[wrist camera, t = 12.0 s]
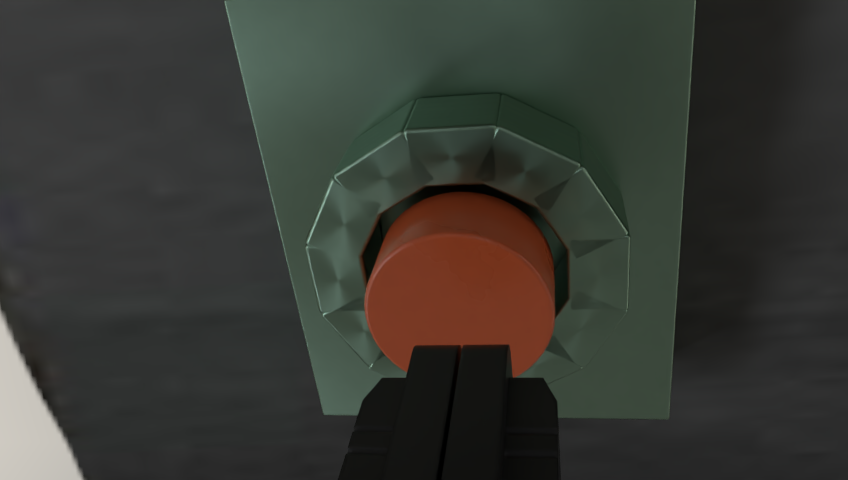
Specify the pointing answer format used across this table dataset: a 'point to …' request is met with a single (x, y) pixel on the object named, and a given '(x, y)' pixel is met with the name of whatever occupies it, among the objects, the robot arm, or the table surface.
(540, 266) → the button
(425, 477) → the robot arm
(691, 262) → the table surface
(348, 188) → the button box
